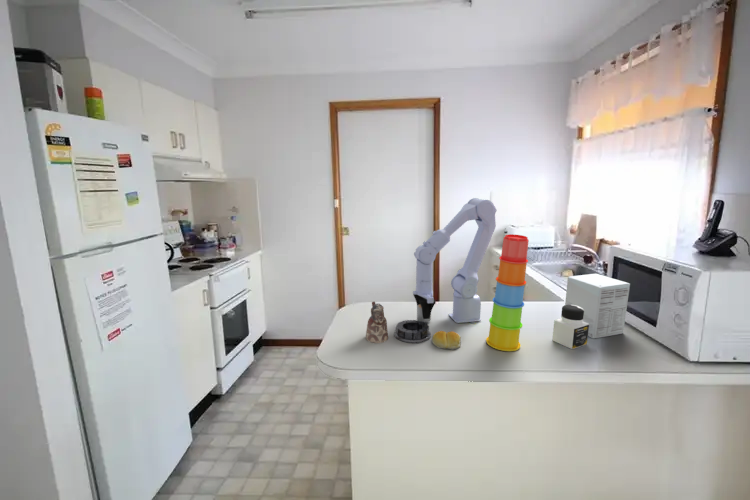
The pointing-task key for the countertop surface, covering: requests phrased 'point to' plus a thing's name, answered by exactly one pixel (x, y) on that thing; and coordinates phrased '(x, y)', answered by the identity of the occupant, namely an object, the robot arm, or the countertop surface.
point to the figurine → (377, 325)
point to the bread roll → (446, 340)
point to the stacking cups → (509, 295)
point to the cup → (420, 316)
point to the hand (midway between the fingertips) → (423, 315)
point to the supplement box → (599, 302)
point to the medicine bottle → (571, 327)
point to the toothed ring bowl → (412, 331)
